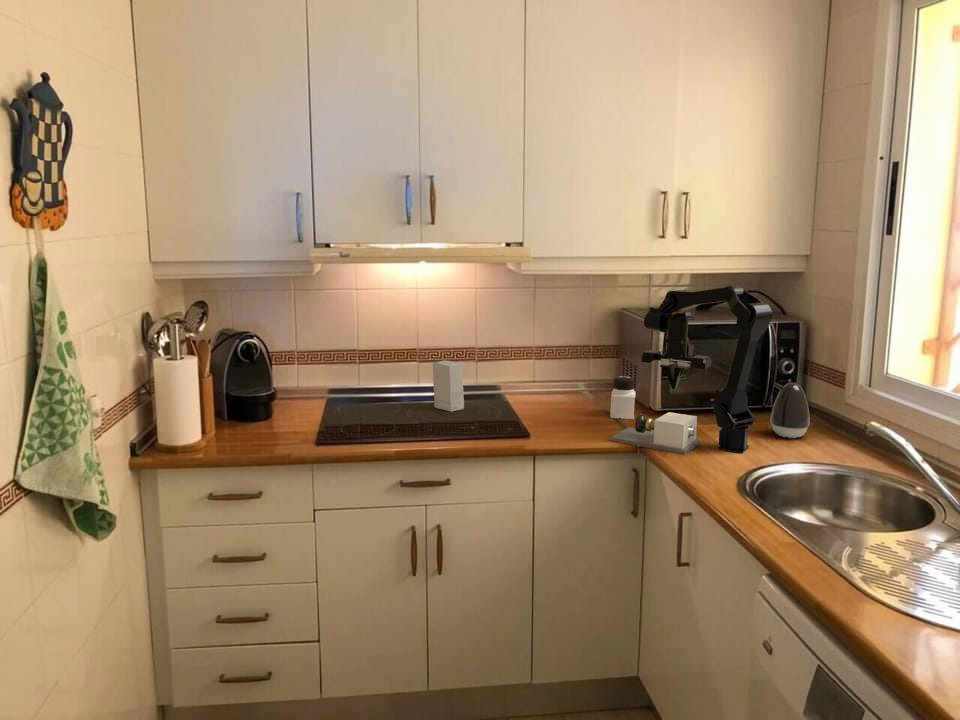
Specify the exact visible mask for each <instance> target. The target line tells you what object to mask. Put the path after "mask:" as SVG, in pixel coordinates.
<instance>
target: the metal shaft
mask: <svg viewBox="0 0 960 720" xmlns="http://www.w3.org/2000/svg"><path fill="white" fill-rule="evenodd" d="M634 423H635V424H634V428H635V429H636V432H640V433H644V432H645V430H646V431H649V432H650V431H654V426H655V420H654V419H653V418H650V417H648V416H647V415H646V414H642V413H638V415H637V416H636V418H635V422H634ZM694 435H695V428H693V427H688V436H692V437H694Z"/></svg>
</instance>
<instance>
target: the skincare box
mask: <svg viewBox="0 0 960 720" xmlns="http://www.w3.org/2000/svg"><path fill="white" fill-rule="evenodd" d="M463 373H464V372H463V362H457V361H451V360H440V361H436V362H433V363H432V376H433V377H432V379H433V399H434V408H435V409H439V410H444V411H447V412H454V411H461V410H464V409H465V399H464V398H465V397H464V395H465V394H464V378H463V377H464V376H463Z"/></svg>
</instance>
